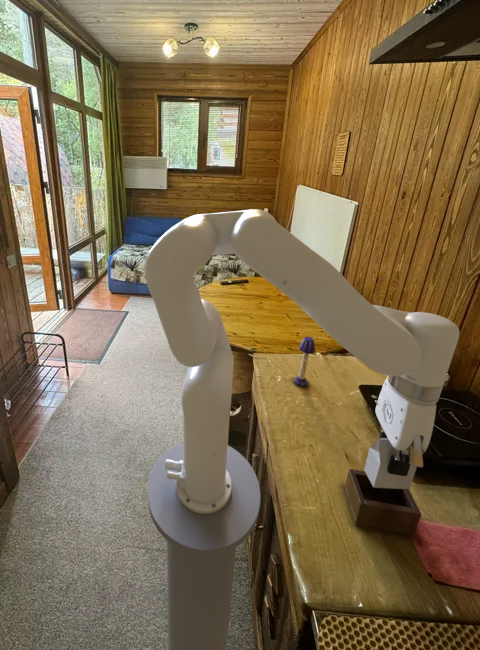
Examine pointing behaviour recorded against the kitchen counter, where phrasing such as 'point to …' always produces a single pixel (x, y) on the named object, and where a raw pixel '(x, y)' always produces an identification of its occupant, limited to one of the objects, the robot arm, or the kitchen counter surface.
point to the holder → (381, 505)
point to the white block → (385, 467)
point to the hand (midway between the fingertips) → (391, 461)
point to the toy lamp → (305, 360)
